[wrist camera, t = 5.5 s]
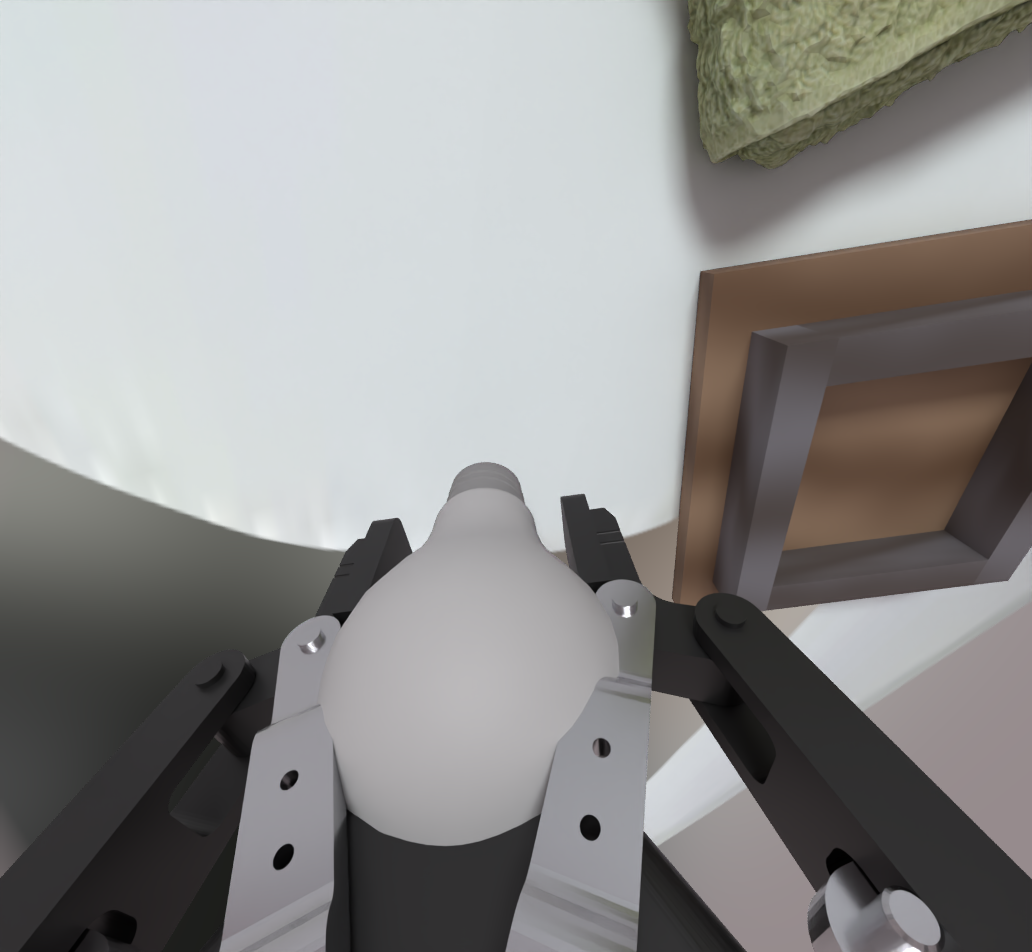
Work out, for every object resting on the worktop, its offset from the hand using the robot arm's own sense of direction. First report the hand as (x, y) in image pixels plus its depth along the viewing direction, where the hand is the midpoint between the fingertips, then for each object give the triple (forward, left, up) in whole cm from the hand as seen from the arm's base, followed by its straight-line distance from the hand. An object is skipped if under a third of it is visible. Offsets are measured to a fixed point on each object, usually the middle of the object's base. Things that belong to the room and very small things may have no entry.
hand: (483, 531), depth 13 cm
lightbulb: (0, 0, -3) cm, 3 cm away
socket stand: (+2, +16, -5) cm, 17 cm away
